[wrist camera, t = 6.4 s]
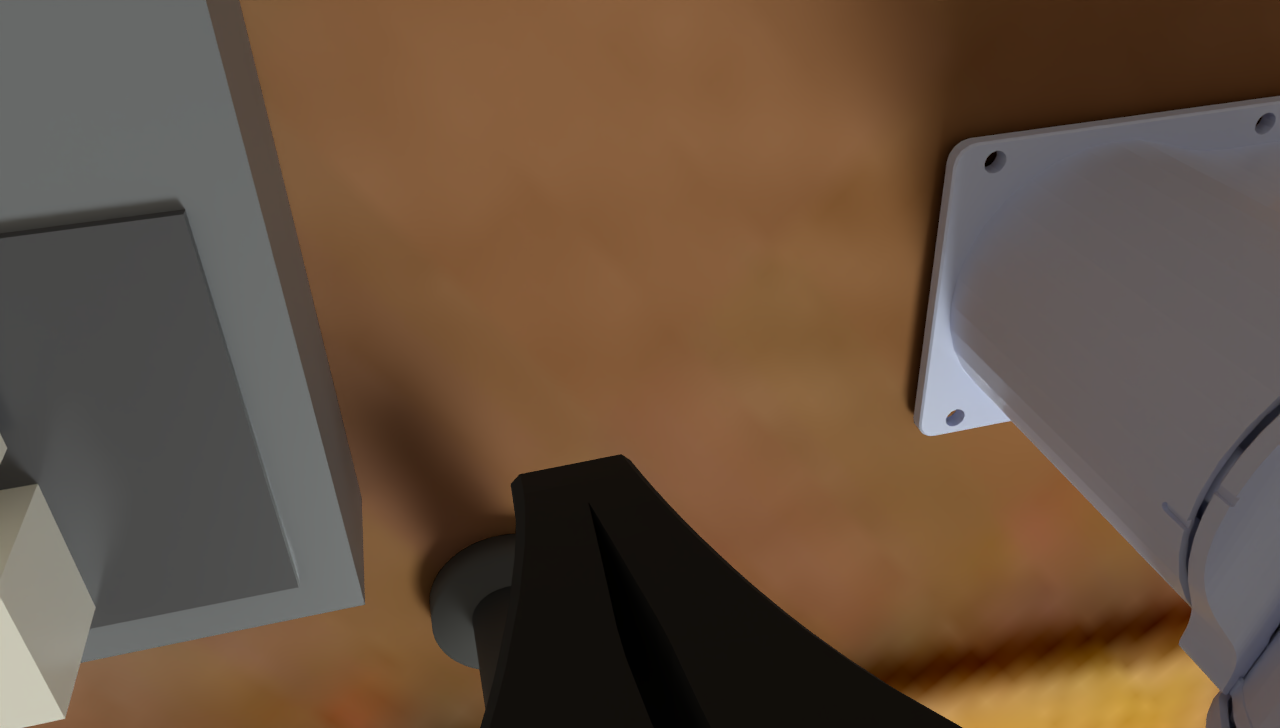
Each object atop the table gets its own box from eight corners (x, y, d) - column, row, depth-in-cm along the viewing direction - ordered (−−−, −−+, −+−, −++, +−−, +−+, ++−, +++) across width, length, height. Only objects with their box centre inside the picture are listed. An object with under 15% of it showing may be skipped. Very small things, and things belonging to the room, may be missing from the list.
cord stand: (577, 520, 26) (645, 748, 20) (587, 630, 28) (652, 863, 22) (418, 551, 25) (442, 797, 19) (441, 662, 27) (469, 912, 22)
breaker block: (195, -175, 16) (129, -128, 11) (361, 497, 24) (368, 712, 19) (-304, -143, 15) (-643, -72, 10) (39, 558, 23) (-50, 807, 17)
